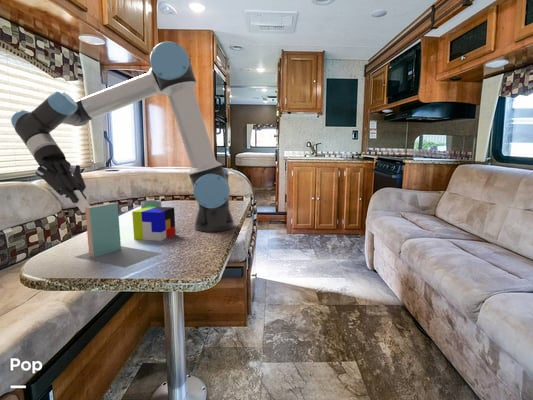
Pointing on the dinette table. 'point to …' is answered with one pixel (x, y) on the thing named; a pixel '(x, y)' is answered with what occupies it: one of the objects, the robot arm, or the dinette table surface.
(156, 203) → the cup
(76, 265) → the dinette table surface
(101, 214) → the tile
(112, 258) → the mat
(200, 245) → the dinette table surface
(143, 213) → the puzzle toy
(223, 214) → the robot arm
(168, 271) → the dinette table surface
